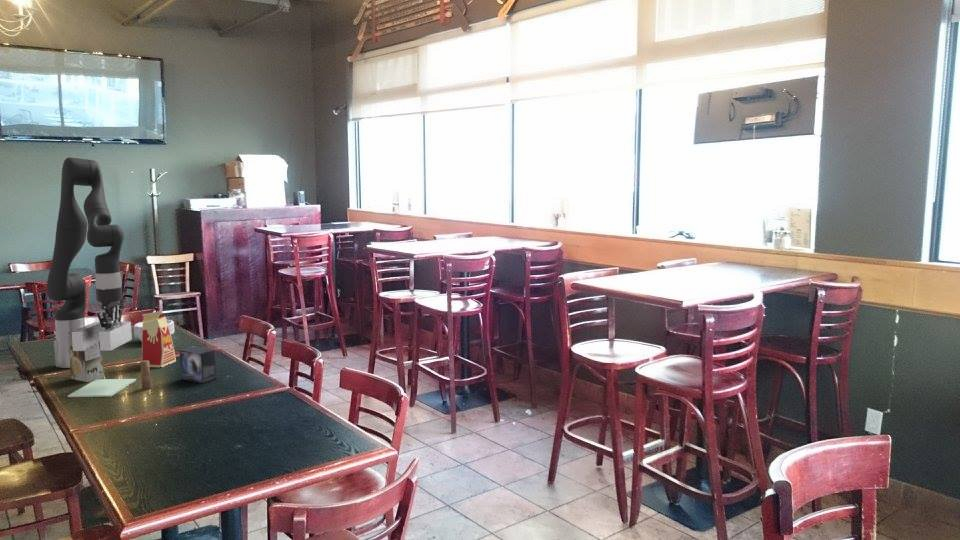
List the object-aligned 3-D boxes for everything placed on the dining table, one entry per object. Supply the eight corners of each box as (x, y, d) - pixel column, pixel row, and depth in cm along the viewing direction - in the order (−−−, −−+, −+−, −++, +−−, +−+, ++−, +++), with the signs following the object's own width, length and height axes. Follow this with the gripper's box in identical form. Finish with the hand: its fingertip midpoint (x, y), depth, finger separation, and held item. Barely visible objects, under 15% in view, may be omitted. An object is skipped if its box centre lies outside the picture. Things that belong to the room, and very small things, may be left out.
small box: (179, 380, 235) (177, 349, 234) (195, 375, 241) (193, 345, 240) (201, 384, 230) (200, 352, 229) (217, 379, 236) (215, 348, 235)
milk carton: (176, 361, 260) (173, 307, 257) (162, 367, 251) (159, 312, 248) (152, 360, 261) (149, 307, 258) (138, 367, 251) (134, 312, 249)
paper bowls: (126, 344, 287) (124, 325, 286) (153, 336, 301) (152, 318, 300) (156, 346, 282) (155, 327, 281) (183, 338, 297) (182, 320, 296)
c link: (96, 339, 232) (95, 321, 231) (131, 339, 232) (130, 321, 232) (72, 350, 217) (71, 331, 216) (110, 350, 217) (109, 331, 217)
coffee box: (105, 377, 238) (101, 331, 236) (86, 382, 232) (83, 335, 230) (88, 374, 242) (84, 328, 240) (69, 379, 236) (66, 332, 234)
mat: (67, 397, 216) (67, 395, 216) (96, 380, 234) (96, 379, 234) (110, 396, 217) (110, 395, 217) (136, 380, 235) (136, 378, 235)
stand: (140, 389, 224) (138, 362, 223) (144, 387, 226) (142, 360, 225) (148, 389, 224) (147, 362, 223) (152, 387, 227) (150, 360, 225)
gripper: (106, 283, 235) (110, 333, 237) (86, 289, 221) (90, 343, 224) (129, 283, 236) (132, 333, 238) (110, 289, 222) (114, 343, 224)
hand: (112, 338), depth 231 cm, fingers closed on c link
